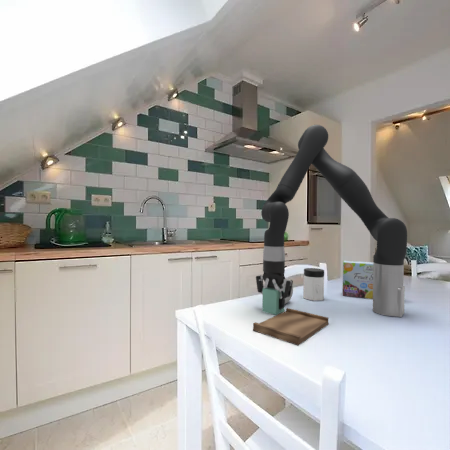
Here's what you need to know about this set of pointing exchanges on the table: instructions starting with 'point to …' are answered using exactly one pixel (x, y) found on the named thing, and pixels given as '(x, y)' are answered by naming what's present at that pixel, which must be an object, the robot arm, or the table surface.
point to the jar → (313, 284)
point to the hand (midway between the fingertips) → (273, 306)
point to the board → (292, 326)
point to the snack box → (358, 279)
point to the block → (271, 301)
